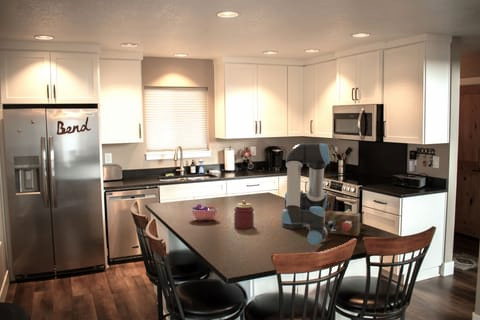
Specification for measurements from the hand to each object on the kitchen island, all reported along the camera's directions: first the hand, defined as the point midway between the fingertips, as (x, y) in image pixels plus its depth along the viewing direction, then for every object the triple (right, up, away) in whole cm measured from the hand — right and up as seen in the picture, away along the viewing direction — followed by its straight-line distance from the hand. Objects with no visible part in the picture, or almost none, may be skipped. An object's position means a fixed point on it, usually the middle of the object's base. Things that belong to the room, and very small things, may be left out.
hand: (331, 222), depth 263 cm
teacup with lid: (+16, -6, +18) cm, 24 cm away
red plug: (+9, -3, -4) cm, 10 cm away
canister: (-53, -6, +18) cm, 56 cm away
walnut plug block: (+7, -7, +5) cm, 11 cm away
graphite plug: (+3, -2, +6) cm, 7 cm away
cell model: (-80, -4, +38) cm, 88 cm away
